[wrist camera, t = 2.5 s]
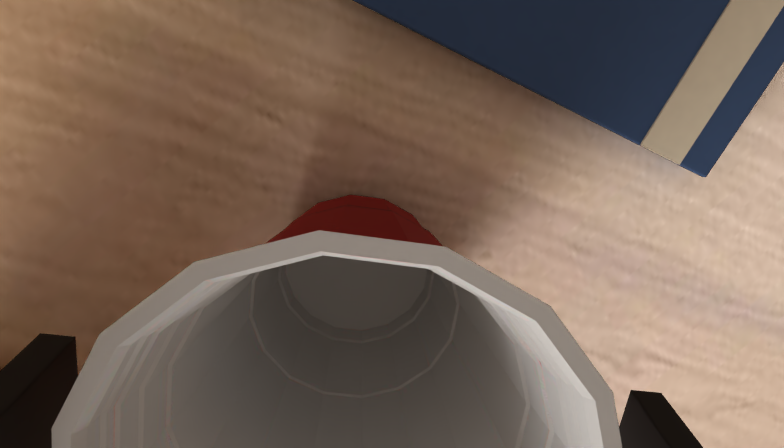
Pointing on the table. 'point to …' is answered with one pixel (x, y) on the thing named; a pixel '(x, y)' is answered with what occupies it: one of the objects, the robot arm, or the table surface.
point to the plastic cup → (339, 351)
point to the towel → (622, 60)
